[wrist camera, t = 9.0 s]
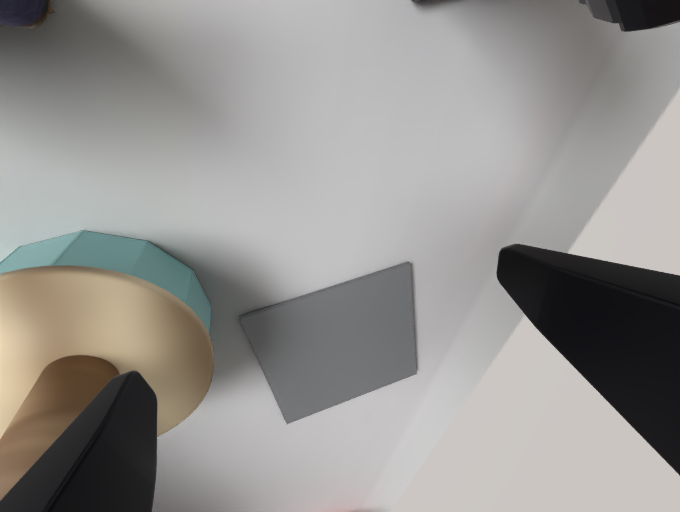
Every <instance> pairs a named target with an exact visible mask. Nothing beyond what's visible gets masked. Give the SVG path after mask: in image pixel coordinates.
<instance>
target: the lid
mask: <svg viewBox="0 0 680 512" xmlns="http://www.w3.org/2000/svg"><path fill="white" fill-rule="evenodd" d="M213 365H214V352H213V345H212V341H211V338H210V335H209V333H208V331H207V329H206V327H205V325H204V324H203V322H202V321H201V319H200V318H199V317H198V316H197V315H196V314H195V312H194V311H193V310H192V309H191V308H190V307H189V306H187V305H186V304H185V303H184V302H183V301H182V300H180V299H179V298H177V297H176V296H174V295H173V294H171V293H170V292H168V291H167V290H165V289H163V288H161V287H159V286H157V285H155V284H153V283H151V282H148V281H145V280H143V279H140V278H137V277H135V276H132V275H128V274H124V273H120V272H117V271H112V270H107V269H101V268H95V267H85V266H73V265H60V266H40V267H31V268H24V269H19V270H14V271H9V272H4V273H1V274H0V500H1V499H2V498H3V497H4V496H5V495H6V494H7V492H8V491H9V490H10V489H11V488H12V487H13V486H14V485H15V484H16V483H17V482H18V480H19V479H20V478H21V477H22V476H23V475H24V474H25V473H26V472H27V471H28V470H29V468H30V467H31V466H32V465H33V464H34V463H35V462H36V461H37V460H38V459H39V458H40V456H41V455H42V454H43V453H44V452H45V451H46V450H47V449H48V448H49V447H50V446H51V444H52V443H53V442H54V441H55V440H56V439H57V438H58V437H59V436H60V435H61V434H62V432H63V431H64V430H65V429H66V428H67V427H68V426H69V425H70V424H71V423H72V422H73V420H74V419H75V418H76V417H77V416H78V415H79V414H80V413H81V412H82V411H83V409H84V408H85V407H86V406H87V405H88V404H89V403H90V402H91V401H92V400H93V399H94V397H95V396H96V395H97V394H98V393H99V392H100V391H101V390H102V389H103V388H104V387H105V385H106V384H107V383H108V382H109V381H110V380H111V379H112V378H113V377H115V376H117V375H120V374H123V373H126V372H129V371H132V370H135V371H138V372H139V373H140V374H141V375H142V376H143V378H144V379H145V380H146V382H147V383H148V384H149V386H150V387H151V388H152V389H153V391H154V392H155V394H156V397H157V436H159V435H161V434H163V433H165V432H167V431H169V430H170V429H172V428H173V427H175V426H177V425H178V424H179V423H181V422H182V421H183V420H184V419H186V418H187V417H188V416H189V415H190V414H191V413H192V412H193V411H194V410H195V409H196V408H197V407H198V406H199V404H200V403H201V402H202V400H203V399H204V397H205V395H206V393H207V392H208V389H209V387H210V384H211V381H212V375H213Z"/></svg>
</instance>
